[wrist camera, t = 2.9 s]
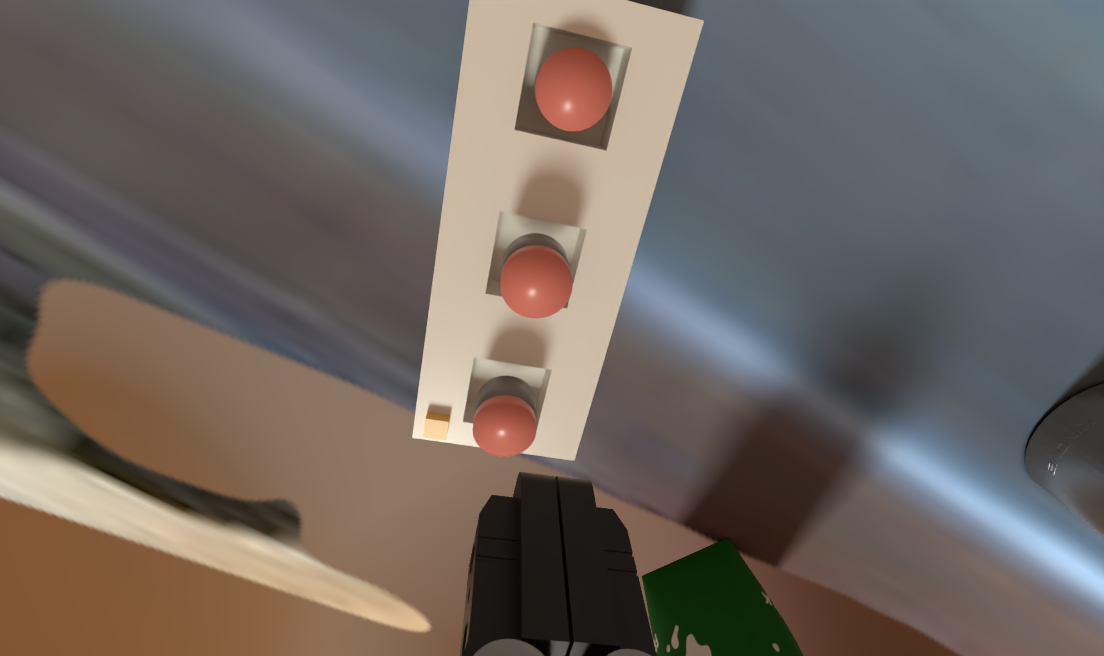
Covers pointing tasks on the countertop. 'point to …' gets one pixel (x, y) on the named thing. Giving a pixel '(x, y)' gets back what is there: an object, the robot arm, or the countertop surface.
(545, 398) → the button panel
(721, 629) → the milk carton
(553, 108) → the button
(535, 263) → the button
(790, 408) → the countertop surface
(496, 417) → the button
